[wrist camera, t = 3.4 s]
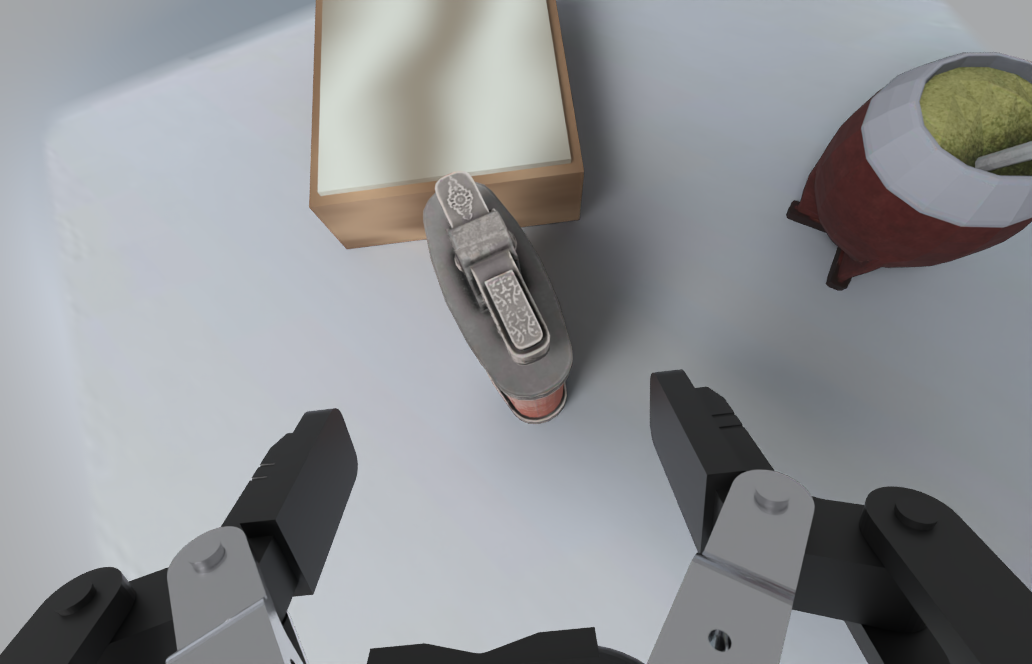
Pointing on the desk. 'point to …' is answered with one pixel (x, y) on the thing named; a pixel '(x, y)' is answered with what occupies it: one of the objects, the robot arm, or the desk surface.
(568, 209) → the wooden flat block
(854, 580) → the robot arm
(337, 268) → the desk surface
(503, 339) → the lighter
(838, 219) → the mate gourd
